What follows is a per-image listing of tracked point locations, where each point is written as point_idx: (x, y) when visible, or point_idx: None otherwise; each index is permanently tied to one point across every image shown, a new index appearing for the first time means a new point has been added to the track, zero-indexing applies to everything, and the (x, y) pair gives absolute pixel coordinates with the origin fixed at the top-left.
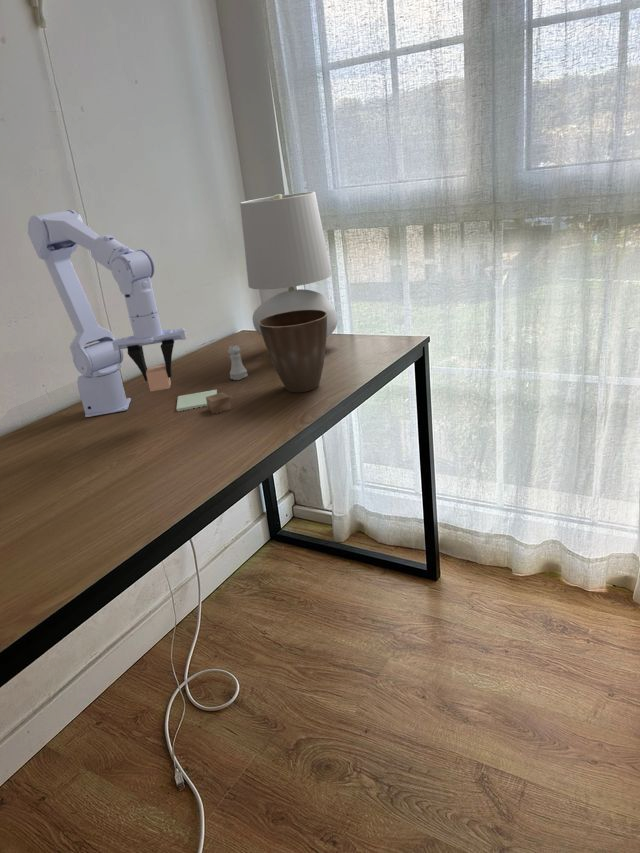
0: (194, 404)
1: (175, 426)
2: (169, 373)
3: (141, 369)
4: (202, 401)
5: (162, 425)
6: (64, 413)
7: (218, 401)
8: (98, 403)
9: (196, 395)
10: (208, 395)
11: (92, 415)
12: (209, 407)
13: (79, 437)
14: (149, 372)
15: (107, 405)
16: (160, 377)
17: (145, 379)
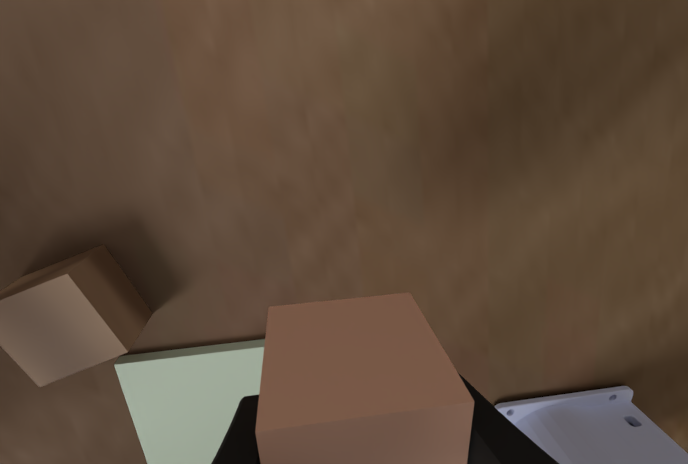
0: (222, 365)
1: (277, 156)
2: (241, 419)
3: (533, 456)
4: (190, 387)
5: (343, 197)
6: (678, 441)
7: (37, 283)
8: (609, 434)
9: None
10: (177, 440)
11: (608, 389)
12: (129, 300)
13: (667, 206)
14: (436, 406)
15: (572, 423)
16: (325, 365)
17: (461, 378)
